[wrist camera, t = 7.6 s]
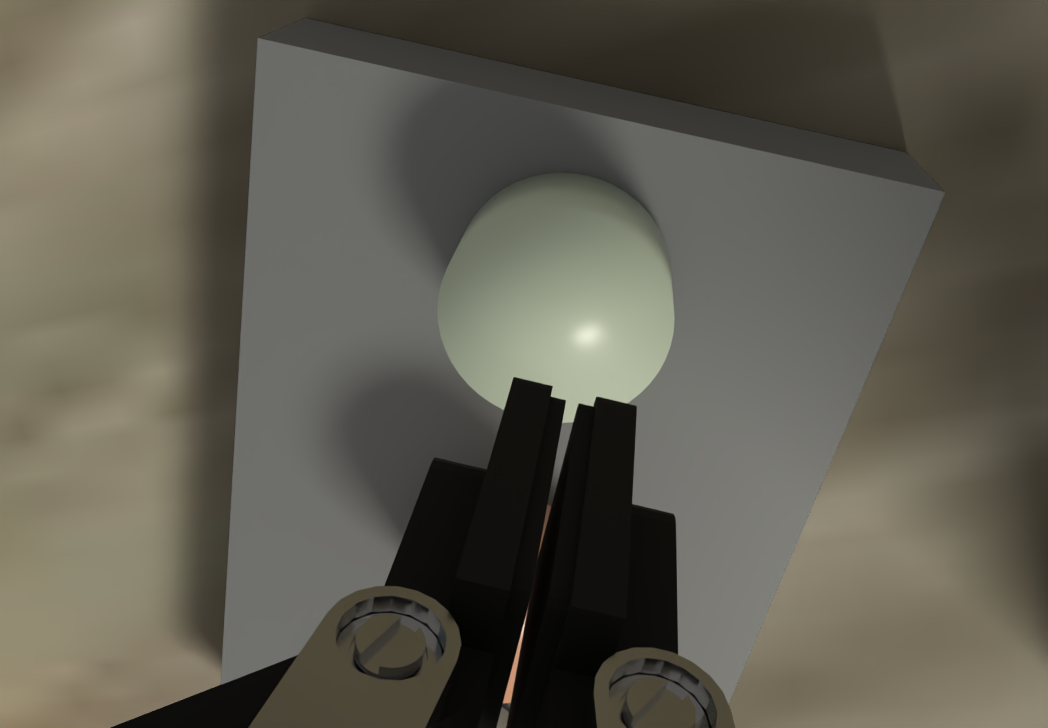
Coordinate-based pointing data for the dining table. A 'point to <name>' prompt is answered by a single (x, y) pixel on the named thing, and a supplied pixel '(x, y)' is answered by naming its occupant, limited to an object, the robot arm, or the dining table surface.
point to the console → (459, 411)
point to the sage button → (559, 293)
